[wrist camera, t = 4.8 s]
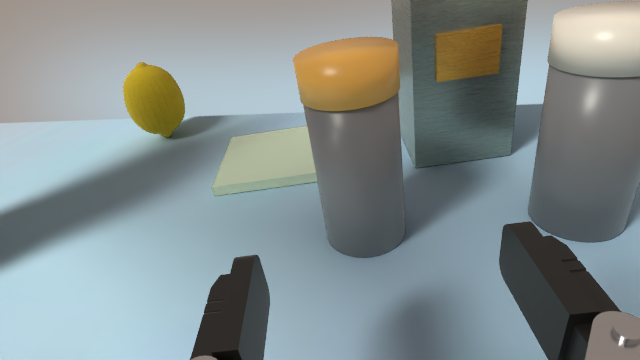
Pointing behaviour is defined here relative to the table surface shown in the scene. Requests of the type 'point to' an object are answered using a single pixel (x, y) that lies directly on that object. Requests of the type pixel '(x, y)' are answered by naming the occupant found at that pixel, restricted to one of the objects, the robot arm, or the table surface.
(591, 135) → the cylinder
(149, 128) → the lemon
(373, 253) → the cylinder
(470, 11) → the unit
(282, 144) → the pad
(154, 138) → the table surface
